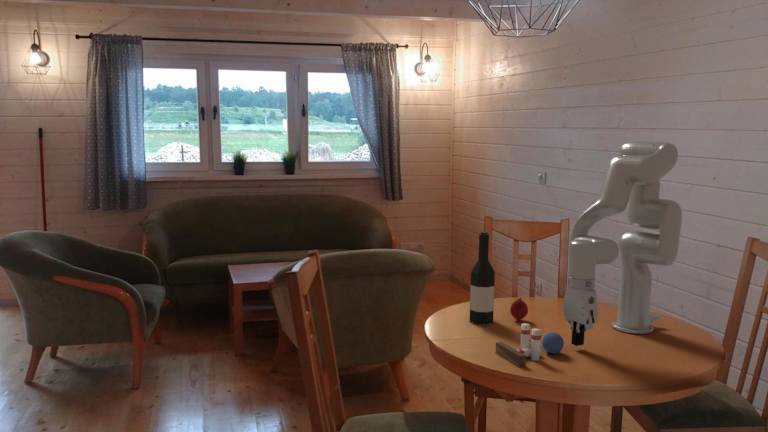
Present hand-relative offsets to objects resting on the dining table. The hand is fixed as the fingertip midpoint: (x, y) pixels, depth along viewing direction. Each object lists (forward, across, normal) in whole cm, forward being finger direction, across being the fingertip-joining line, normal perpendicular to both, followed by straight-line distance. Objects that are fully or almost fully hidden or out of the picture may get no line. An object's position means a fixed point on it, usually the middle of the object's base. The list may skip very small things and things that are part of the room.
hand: (577, 344), depth 189 cm
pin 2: (+2, -2, +16) cm, 17 cm away
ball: (-2, 0, +9) cm, 9 cm away
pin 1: (+2, +2, +16) cm, 17 cm away
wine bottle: (+2, +34, +12) cm, 36 cm away
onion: (+2, +30, 0) cm, 30 cm away
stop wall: (+2, 0, +23) cm, 23 cm away
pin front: (0, 0, +13) cm, 13 cm away
